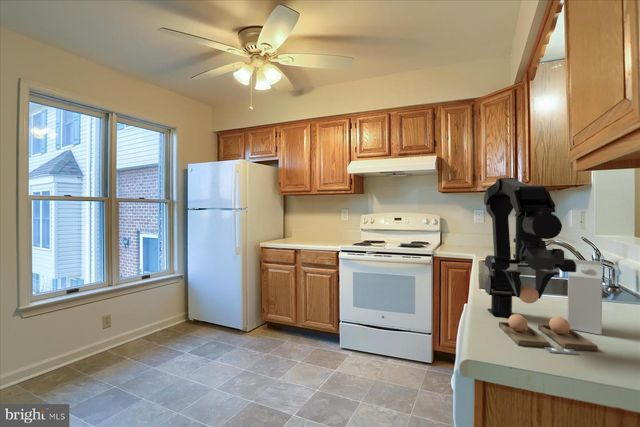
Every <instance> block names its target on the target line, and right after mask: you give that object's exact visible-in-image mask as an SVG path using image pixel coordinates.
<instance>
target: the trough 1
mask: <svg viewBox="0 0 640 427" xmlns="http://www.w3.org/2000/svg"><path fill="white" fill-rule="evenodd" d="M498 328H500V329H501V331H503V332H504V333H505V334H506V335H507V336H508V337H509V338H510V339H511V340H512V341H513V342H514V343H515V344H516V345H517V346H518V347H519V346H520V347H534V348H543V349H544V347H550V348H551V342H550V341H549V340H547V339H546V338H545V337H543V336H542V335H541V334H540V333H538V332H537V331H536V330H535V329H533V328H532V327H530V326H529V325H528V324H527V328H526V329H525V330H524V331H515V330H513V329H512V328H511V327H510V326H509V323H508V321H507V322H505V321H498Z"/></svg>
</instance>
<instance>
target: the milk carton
mask: <svg viewBox="0 0 640 427" xmlns="http://www.w3.org/2000/svg"><path fill="white" fill-rule="evenodd" d="M570 259H571V260H573V261H574V262H575V263H576V265H577V266H576V272H567V319H566V320H567V321H568V322H569V324H570V329H571V330H573V331H574V330H575V331H579V332H584V333H585V332H586V333H589V334H595V335H602V333H603V332H602V330H603V329H602V328H603V326H602V325H603V321H602V320H603V261H600V260H586V259H577V258H576V259H574V258H573V259H572V258H570Z"/></svg>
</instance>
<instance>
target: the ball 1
mask: <svg viewBox="0 0 640 427" xmlns="http://www.w3.org/2000/svg"><path fill="white" fill-rule="evenodd" d="M507 322H508V323H509V326H510V327H511V328H512V329H513V330H515V331H524V330H525V329H526V328H527V325H528V321H527V319H526V317H524V316H523V315H521V314H520V313H518V314H517V313H514V315H511V316H510V317H508V320H507Z"/></svg>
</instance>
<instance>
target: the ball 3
mask: <svg viewBox="0 0 640 427" xmlns="http://www.w3.org/2000/svg"><path fill="white" fill-rule="evenodd" d="M567 320H568V319H566V318H565V317H563V316H553V317H552V318H550V320H549V324H548V325H549V326H550V328H551V330H552V331H554V332H555V333H557V334H566V333H567V332H568V331H569V330H570V324H569V322H568V321H567Z"/></svg>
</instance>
